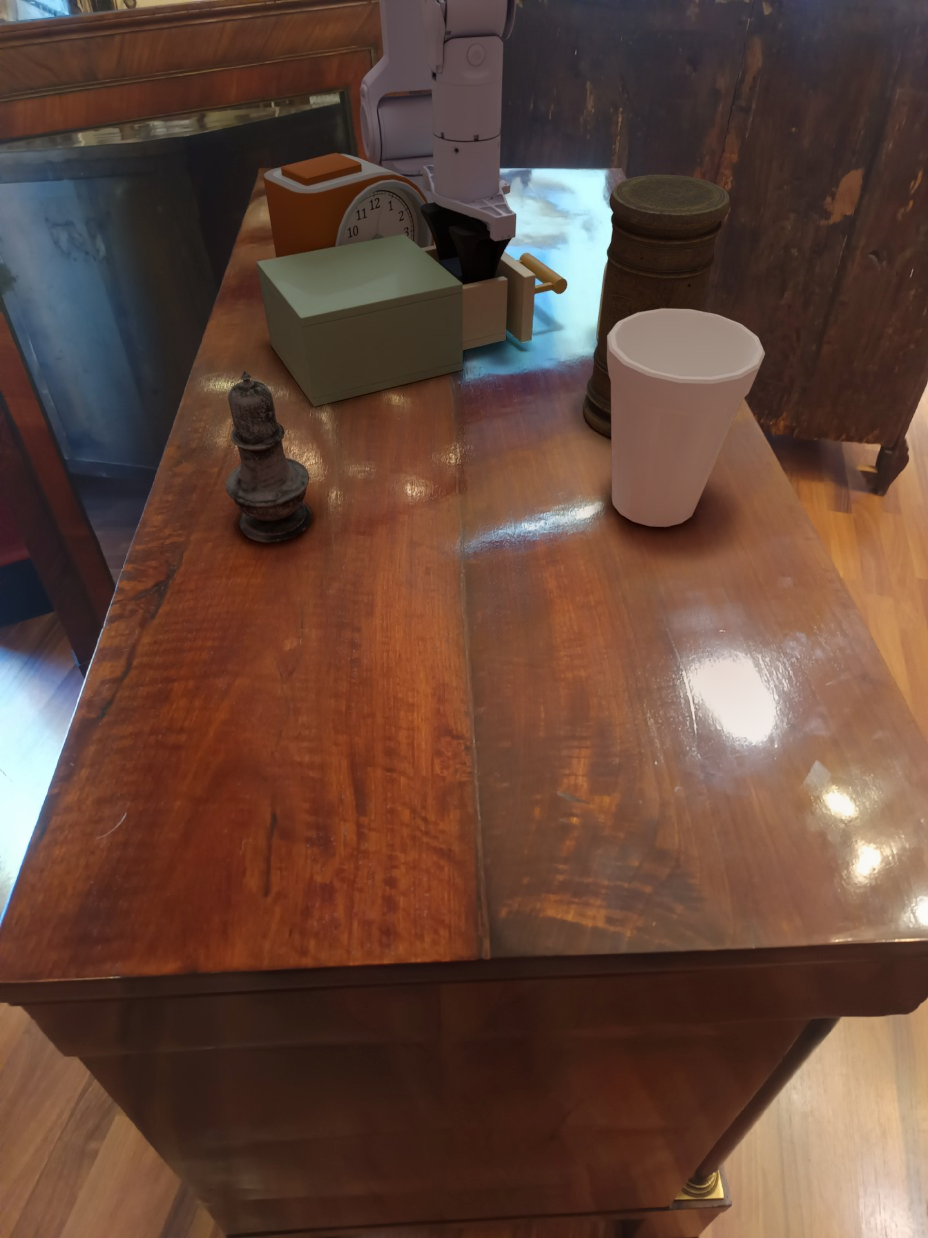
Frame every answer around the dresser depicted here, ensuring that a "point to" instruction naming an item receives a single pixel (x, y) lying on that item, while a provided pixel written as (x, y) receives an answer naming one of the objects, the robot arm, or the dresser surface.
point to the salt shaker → (264, 468)
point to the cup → (673, 406)
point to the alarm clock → (341, 204)
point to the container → (653, 261)
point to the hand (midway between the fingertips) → (466, 291)
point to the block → (453, 267)
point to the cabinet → (362, 317)
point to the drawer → (504, 299)
